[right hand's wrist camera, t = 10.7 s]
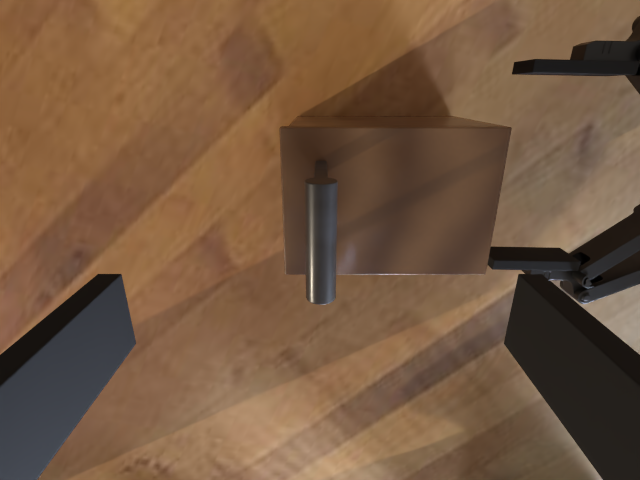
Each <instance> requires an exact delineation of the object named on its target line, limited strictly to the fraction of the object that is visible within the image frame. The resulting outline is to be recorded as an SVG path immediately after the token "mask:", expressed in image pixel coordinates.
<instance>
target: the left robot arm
mask: <svg viewBox="0 0 640 480" xmlns="http://www.w3.org/2000/svg"><path fill="white" fill-rule="evenodd" d="M632 31H633V32H632V34H631V36H630V37H629V38H628V39H627V40H626V41H592V42H586V43H581V44H579V45H576V46H573V50H572V54H571V58H570V60H550V59H533V60H526V61H520V62H514V67H513V72H512V74H525V75H574V76H618V75H625V76H626V77H627V78H628V80H629V81H630V82H631V83H632V85H633V86H634V87H635V89H636V90H637V91H638V92H639V94H640V16H639V17H637V18H636V19H635V21H634V23H633V25H632ZM488 265H489V266H490V267H491V268H492V269H500V270H522V271H523V272H524V273H525V274H542V275H544V276H545V277H546V278H547V279H548V280H561V282H560V286H561V288H562V289H564V290H565V291H566V292H567V293H568V294H570V295H571V296H572V297H573V298H575V299H576V300H577V301H578V302H580V303H581V304H586V303H589V302H592V301H595V300H597V299H600V298H603V297H605V296H608V295H611V294H614V293H616V292H619V291H622V290H624V289H627V288H630V287H632V286H635V285H638V284H640V204H639V205H638V206H636V207H635V208H634V213H633V214H631V215H630V216H628V217H627V218H625V219H623V220H622V221H620V222H619V223H617V224H615V225H614V226H612V227H611V228H609V229H607V230H606V231H604V232H603V233H601V234H599V235H598V236H596V237H595V238H593V239H591V240H590V241H588V242H587V243H585V244H584V245H582V246H580V247H579V248H577V249H576V250H574V251H572V252H571V253H569V254H568V253H567V252H565V251H564V250H562V249H561V248H536V247H490V253H489V258H488Z"/></svg>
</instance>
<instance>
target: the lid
mask: <svg viewBox="0 0 640 480" xmlns="http://www.w3.org/2000/svg"><path fill="white" fill-rule="evenodd" d="M510 134H511V127H506V126H282V127H280V151H281V178H282V205H283V232H284V259H285V274H306V298H307V300H308V301H309V302H311V303H314V304H328V303H331V302H333V301H334V300H335V298H336V275H485V274H486V269H487V264H488V258H489V253H490V247H491V241H492V236H493V230H494V224H495V219H496V213H497V207H498V202H499V196H500V190H501V185H502V179H503V173H504V168H505V162H506V156H507V151H508V145H509V140H510Z"/></svg>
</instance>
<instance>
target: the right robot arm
mask: <svg viewBox="0 0 640 480" xmlns="http://www.w3.org/2000/svg"><path fill="white" fill-rule="evenodd" d="M135 344H136V341H135V336H134V331H133V327H132V322H131V317H130V313H129V308H128V303H127V298H126V294H125V289H124V284H123V280H122V275H121V274H98V275H96V276H95V277H94V278H93V279H92V280H90V281H89V282H88V283H87V284H86V285H84V286H83V287H82V288H81V289H79V290H78V291H77V292H76V293H75V294H73V295H72V296H71V297H70V298H69V299H67V300H66V301H65V302H64V303H63V304H61V305H60V306H59V307H58V308H57V309H55V310H54V311H53V312H52V313H50V314H49V315H48V316H47V317H46V318H44V319H43V320H42V321H41V322H40V323H38V324H37V325H36V326H35V327H34V328H32V329H31V330H30V331H29V332H27V333H26V334H25V335H24V336H23V337H21V338H20V339H19V340H18V341H17V342H15V343H14V344H13V345H12V346H11V347H9V348H8V349H7V350H6V351H4V352H3V353H2V354H1V355H0V480H37V479H38V478H39V476H40V475H41V473H42V472H43V471H44V469H45V468H46V467H47V465H48V464H49V462H50V461H51V460H52V458H53V457H54V456H55V454H56V453H57V451H58V450H59V449H60V447H61V446H62V445H63V443H64V442H65V440H66V439H67V438H68V436H69V435H70V434H71V432H72V431H73V429H74V428H75V427H76V425H77V424H78V423H79V421H80V420H81V418H82V417H83V416H84V414H85V413H86V412H87V410H88V409H89V407H90V406H91V405H92V403H93V402H94V401H95V399H96V398H97V396H98V395H99V394H100V392H101V391H102V390H103V388H104V387H105V385H106V384H107V383H108V381H109V380H110V379H111V377H112V376H113V375H114V373H115V372H116V370H117V369H118V368H119V366H120V365H121V364H122V362H123V361H124V359H125V358H126V357H127V355H128V354H129V353H130V351H131V350H132V348H133V347H134V346H135ZM504 344H505V346H506V347H507V348H508V350H509V351H510V353H511V354H512V355H513V357H514V358H515V359H516V361H517V362H518V364H519V365H520V366H521V368H522V369H523V370H524V372H525V373H526V375H527V376H528V377H529V379H530V380H531V381H532V383H533V384H534V385H535V387H536V388H537V390H538V391H539V392H540V394H541V395H542V396H543V398H544V399H545V401H546V402H547V403H548V405H549V406H550V407H551V409H552V410H553V412H554V413H555V414H556V416H557V417H558V418H559V420H560V421H561V423H562V424H563V425H564V427H565V428H566V429H567V431H568V432H569V434H570V435H571V436H572V438H573V439H574V440H575V442H576V443H577V445H578V446H579V447H580V449H581V450H582V451H583V453H584V454H585V456H586V457H587V458H588V460H589V461H590V462H591V464H592V465H593V467H594V468H595V469H596V471H597V472H598V473H599V475H600V476H601V478H602V479H603V480H640V355H639V354H638V353H637V352H636V351H634V350H633V349H632V348H631V347H629V346H628V345H627V344H626V343H625V342H623V341H622V340H621V339H620V338H619V337H617V336H616V335H615V334H614V333H613V332H611V331H610V330H609V329H608V328H606V327H605V326H604V325H603V324H602V323H600V322H599V321H598V320H597V319H596V318H594V317H593V316H592V315H591V314H590V313H588V312H587V311H586V310H585V309H583V308H582V307H581V306H580V305H579V304H577V303H576V302H575V301H574V300H573V299H571V298H570V297H569V296H568V295H567V294H565V293H564V292H563V291H562V290H561V289H559V288H558V287H557V286H556V285H554V284H553V283H552V282H551V281H550V280H548V279H547V278H546V277H545V276H544V275H542V274H519V275H518V280H517V284H516V289H515V294H514V298H513V303H512V308H511V313H510V317H509V322H508V327H507V331H506V336H505V341H504Z"/></svg>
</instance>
